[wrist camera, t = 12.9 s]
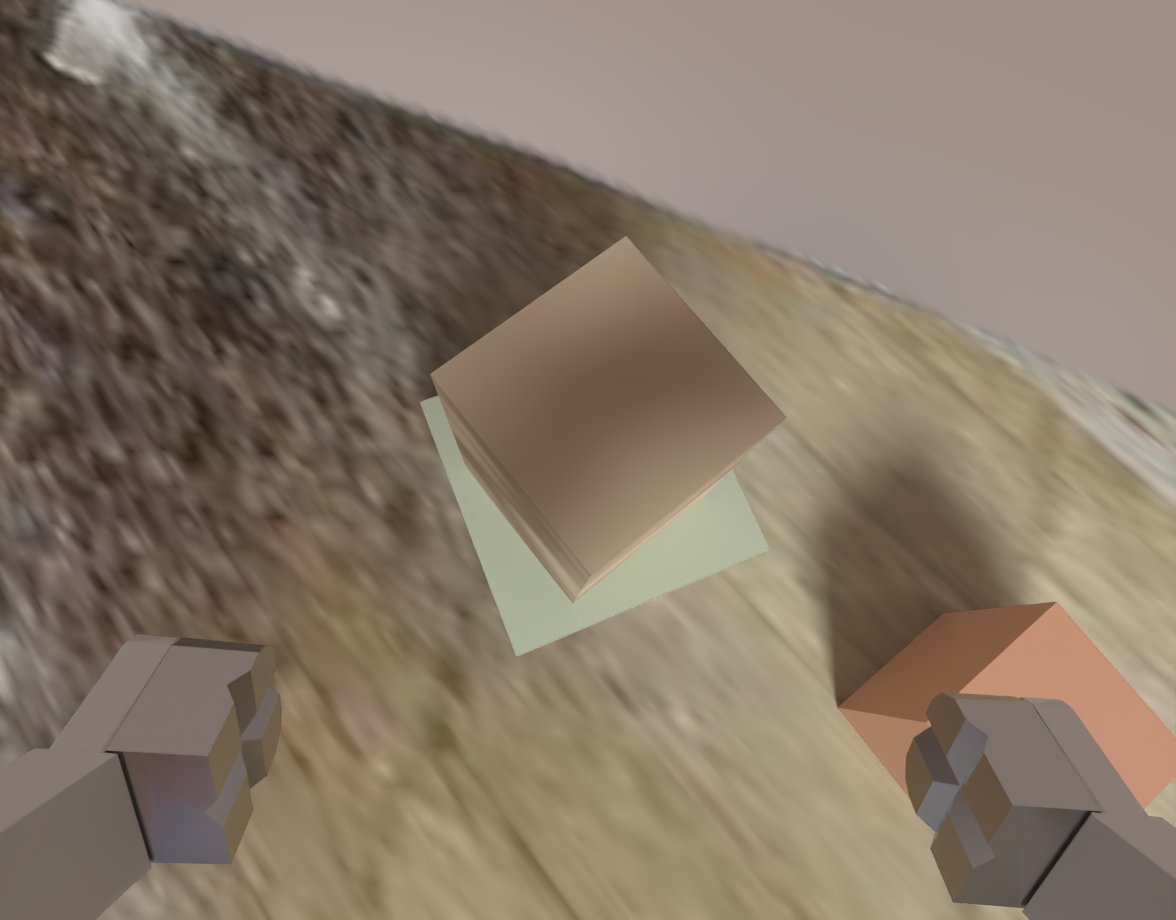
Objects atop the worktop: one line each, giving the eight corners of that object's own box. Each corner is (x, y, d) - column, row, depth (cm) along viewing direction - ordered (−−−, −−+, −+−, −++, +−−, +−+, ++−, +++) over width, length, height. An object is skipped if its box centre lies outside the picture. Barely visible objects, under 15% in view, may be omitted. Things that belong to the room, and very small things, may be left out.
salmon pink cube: (836, 707, 26) (926, 722, 20) (942, 613, 27) (1056, 601, 21) (939, 836, 25) (1064, 892, 19) (1044, 734, 26) (1193, 757, 20)
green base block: (435, 438, 27) (419, 402, 23) (643, 362, 28) (661, 315, 24) (518, 656, 25) (516, 655, 22) (735, 565, 27) (769, 549, 23)
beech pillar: (466, 469, 23) (430, 373, 15) (597, 372, 24) (626, 235, 16) (572, 603, 22) (591, 575, 14) (703, 497, 23) (786, 417, 15)
